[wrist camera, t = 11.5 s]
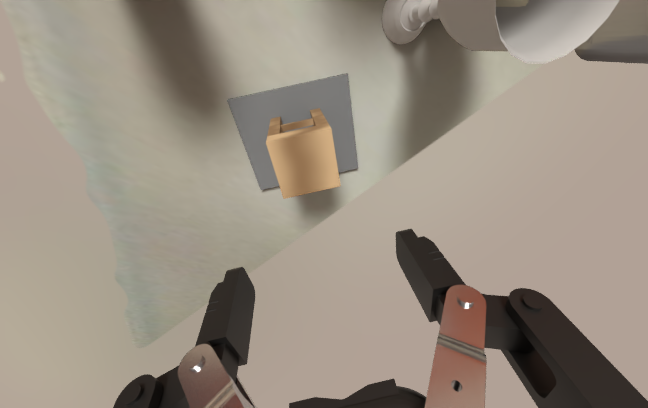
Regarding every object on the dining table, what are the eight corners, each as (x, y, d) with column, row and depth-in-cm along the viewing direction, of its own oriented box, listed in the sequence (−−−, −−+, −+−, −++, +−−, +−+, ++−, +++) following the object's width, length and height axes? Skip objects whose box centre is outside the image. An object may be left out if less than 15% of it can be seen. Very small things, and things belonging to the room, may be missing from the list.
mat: (346, 73, 28) (347, 73, 28) (357, 166, 35) (358, 168, 34) (227, 99, 28) (227, 100, 28) (261, 188, 35) (260, 190, 34)
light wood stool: (319, 108, 29) (331, 128, 22) (327, 154, 33) (340, 186, 25) (270, 118, 29) (265, 143, 22) (284, 164, 33) (283, 198, 25)
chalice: (442, 34, 27) (634, 17, 12) (387, 68, 28) (502, 90, 13) (426, -47, 24) (675, -215, 9) (362, -5, 25) (485, -87, 10)
